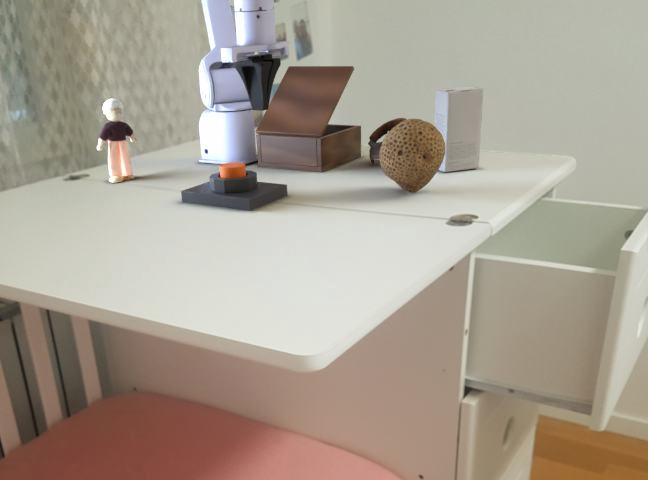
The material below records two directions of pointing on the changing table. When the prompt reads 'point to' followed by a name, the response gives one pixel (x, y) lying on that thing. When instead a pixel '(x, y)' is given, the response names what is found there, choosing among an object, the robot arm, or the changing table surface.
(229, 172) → the button
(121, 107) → the grandmother figurine
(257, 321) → the changing table surface
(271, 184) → the switch block
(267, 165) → the chest
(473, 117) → the cosmetic box
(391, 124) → the pottery mug
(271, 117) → the lid
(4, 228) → the changing table surface
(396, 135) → the natural sponge
